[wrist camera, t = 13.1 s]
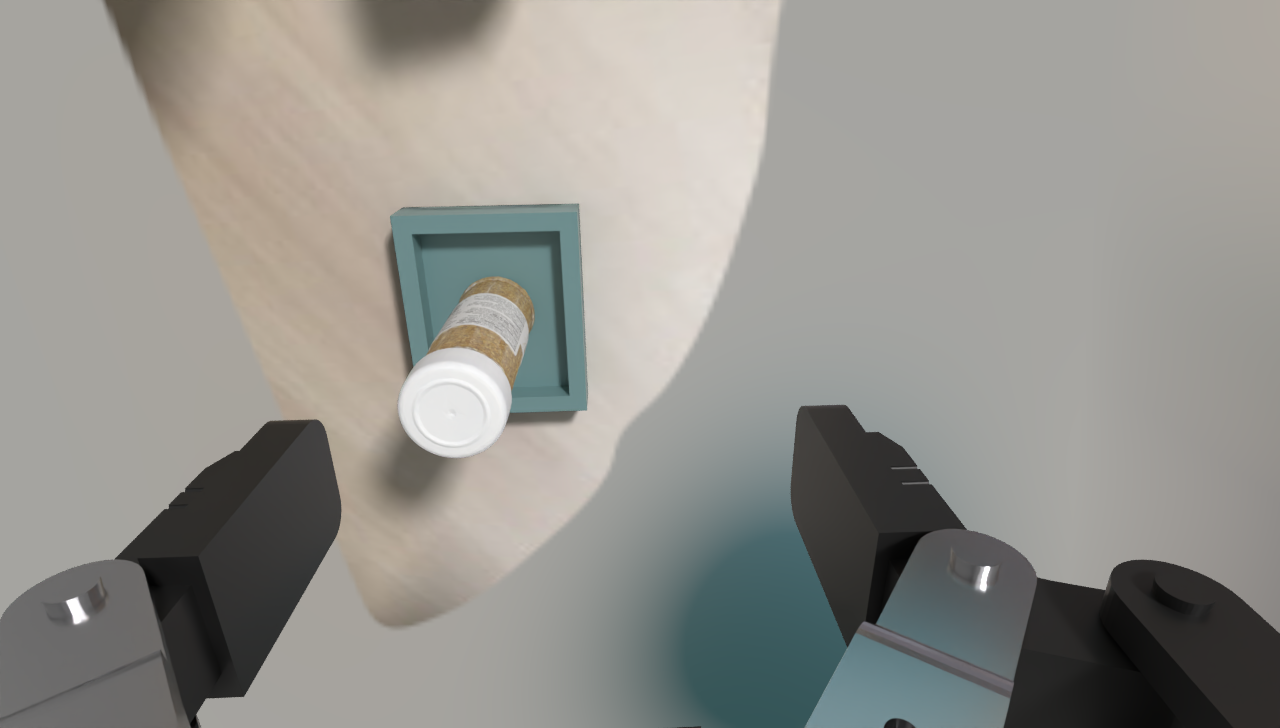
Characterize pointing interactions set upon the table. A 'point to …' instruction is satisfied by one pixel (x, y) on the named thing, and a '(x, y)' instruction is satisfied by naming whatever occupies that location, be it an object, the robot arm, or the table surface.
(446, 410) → the sprinkles bottle
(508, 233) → the tray
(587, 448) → the table surface
